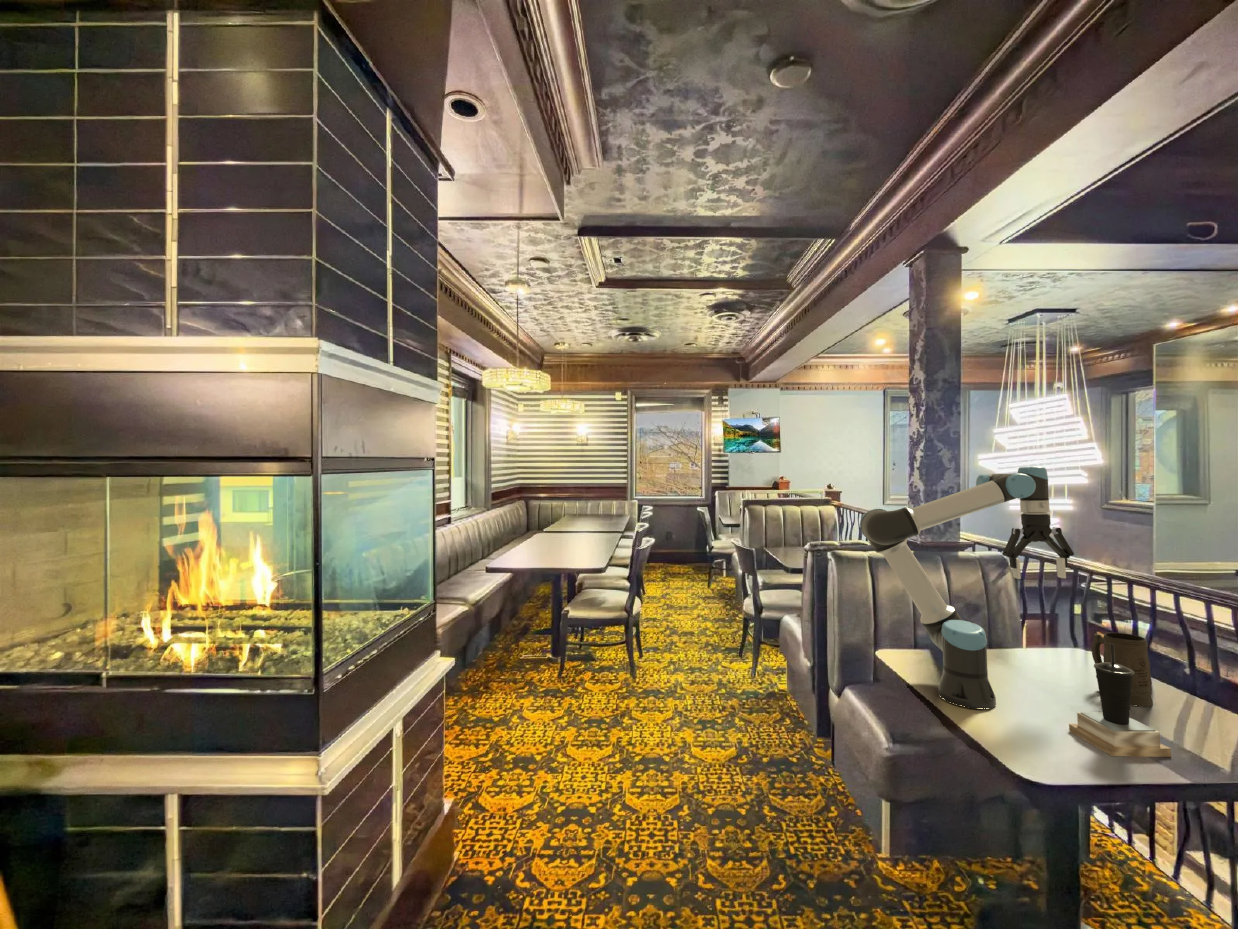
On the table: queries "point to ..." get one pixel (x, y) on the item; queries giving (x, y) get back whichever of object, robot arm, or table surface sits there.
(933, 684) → the table surface
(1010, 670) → the table surface
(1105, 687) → the drinking cup
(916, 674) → the table surface
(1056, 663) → the table surface
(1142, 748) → the plinth
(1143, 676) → the beer stein
